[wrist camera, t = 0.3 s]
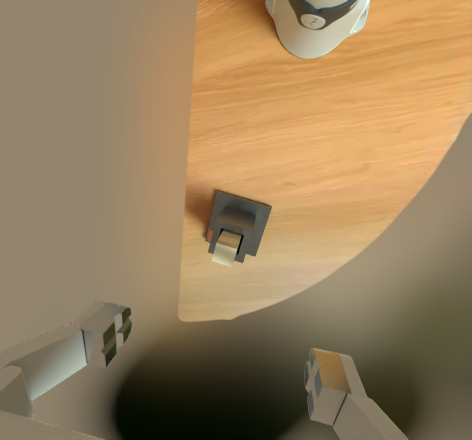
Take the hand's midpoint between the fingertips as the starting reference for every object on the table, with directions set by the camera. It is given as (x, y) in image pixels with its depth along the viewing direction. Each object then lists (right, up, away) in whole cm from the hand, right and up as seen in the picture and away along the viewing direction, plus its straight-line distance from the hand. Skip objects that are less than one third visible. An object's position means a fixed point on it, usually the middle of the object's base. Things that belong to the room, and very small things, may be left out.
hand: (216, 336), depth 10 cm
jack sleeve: (+1, +4, +48) cm, 48 cm away
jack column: (+1, +4, +46) cm, 47 cm away
